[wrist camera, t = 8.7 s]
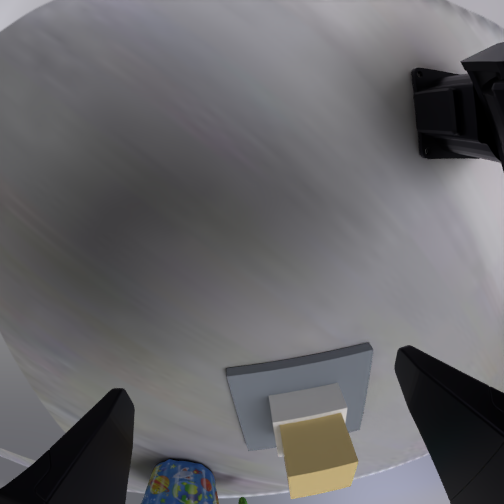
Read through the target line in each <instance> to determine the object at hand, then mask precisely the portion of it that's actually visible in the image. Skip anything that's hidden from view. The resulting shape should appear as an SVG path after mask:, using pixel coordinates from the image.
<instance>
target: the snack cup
mask: <svg viewBox="0 0 504 504" xmlns="http://www.w3.org/2000/svg"><path fill="white" fill-rule="evenodd" d="M141 504H219V502H218V496H217V491H216V488H215V479H214V476H213V474H212V472H211V471H210V470H209V469H207V468H205V467H204V466H203V465H202V464H199V463H192V462H187V461H175V460H172V459H168V460H167V461H165V462H162V463H159V464H158V465H157V466H155V468H154V469H153V472H152V475H151V478H150V480H149V483H148V486H147V489H146V491H145V495H144V498H143V500H142V503H141ZM239 504H247V501H246V499H245V498H244V497H241V498H240V499H239Z"/></svg>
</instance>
